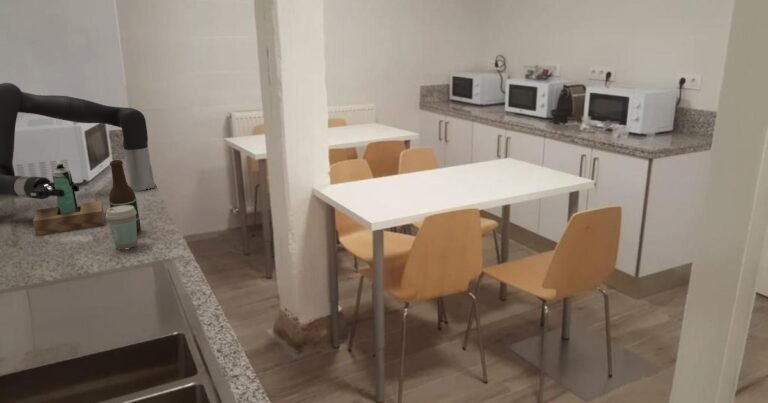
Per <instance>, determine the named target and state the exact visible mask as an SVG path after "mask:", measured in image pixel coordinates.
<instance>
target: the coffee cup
mask: <svg viewBox="0 0 768 403" xmlns="http://www.w3.org/2000/svg"><path fill="white" fill-rule="evenodd" d="M136 214H137V212H136V210H135V208H134V206H131V205H121V206H116V207H112V208H110V207H109V208H108V209H107V210H106V213H105V219H107V222H108V226H109V228H110V231H111V232H110V233H111V234H112V239H113V240H114V244H115V248H116V247H117V248H119V249H125V248H131V247H134V246H136V245H137V246H138V234H137V225H136ZM137 246H136V247H137ZM117 248H116V249H117ZM134 248H135V247H134ZM119 249H118V250H119ZM131 249H132V248H131Z"/></svg>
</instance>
